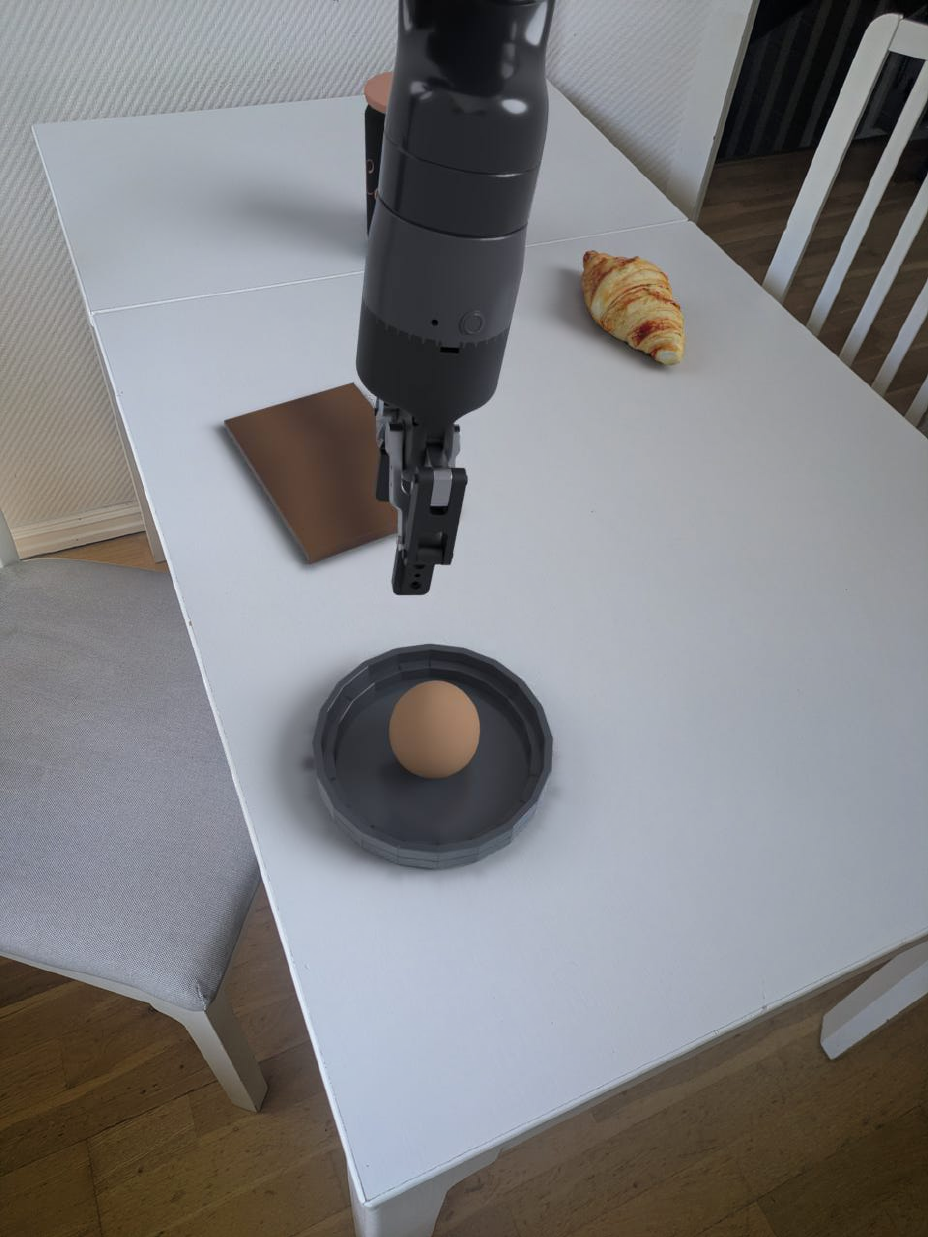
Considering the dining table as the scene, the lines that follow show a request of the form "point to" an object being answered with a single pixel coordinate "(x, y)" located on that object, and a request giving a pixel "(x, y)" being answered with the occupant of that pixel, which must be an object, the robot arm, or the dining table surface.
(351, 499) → the board
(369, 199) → the coffee jar
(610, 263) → the croissant
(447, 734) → the egg
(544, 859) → the dining table surface
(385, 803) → the pan
